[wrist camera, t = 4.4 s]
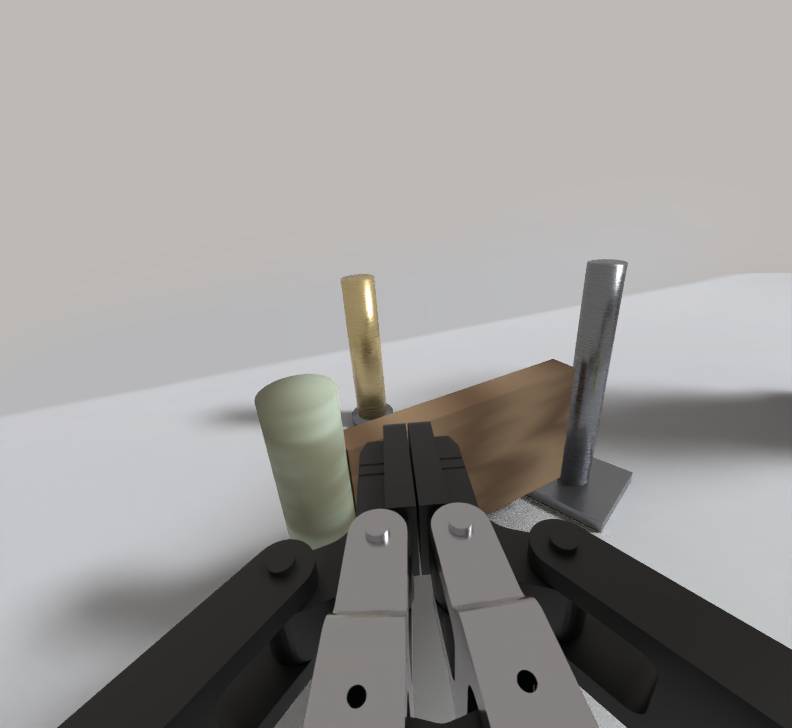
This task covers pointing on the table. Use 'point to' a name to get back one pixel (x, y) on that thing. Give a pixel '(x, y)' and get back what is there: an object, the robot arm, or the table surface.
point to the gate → (449, 415)
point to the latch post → (364, 347)
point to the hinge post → (590, 406)
